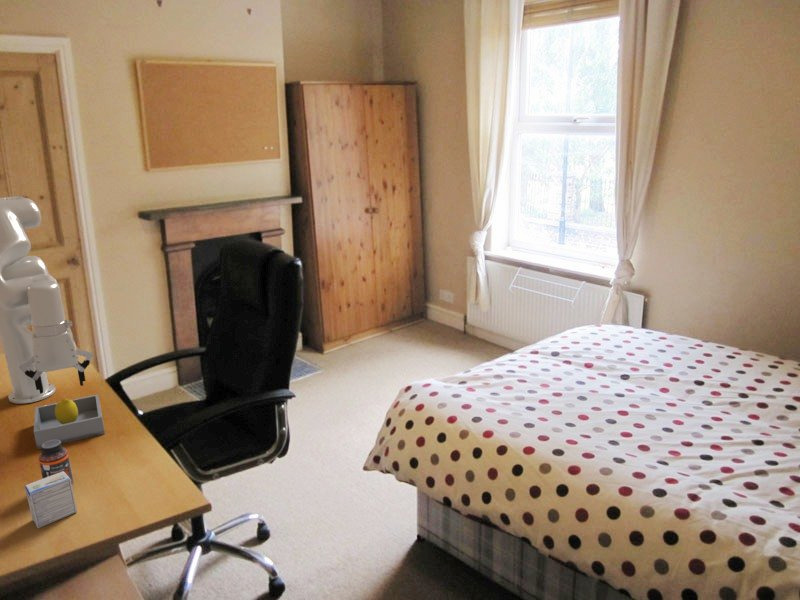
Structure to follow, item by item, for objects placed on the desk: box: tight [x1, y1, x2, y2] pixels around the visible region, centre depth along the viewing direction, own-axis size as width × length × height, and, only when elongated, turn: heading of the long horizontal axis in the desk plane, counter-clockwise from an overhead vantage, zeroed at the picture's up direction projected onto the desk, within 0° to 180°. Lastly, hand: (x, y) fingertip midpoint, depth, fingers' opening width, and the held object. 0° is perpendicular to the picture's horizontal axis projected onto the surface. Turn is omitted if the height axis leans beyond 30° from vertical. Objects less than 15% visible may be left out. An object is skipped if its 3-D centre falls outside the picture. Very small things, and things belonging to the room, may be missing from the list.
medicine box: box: [24, 471, 78, 529], centre depth 136 cm, size 8×4×9 cm, turn 133°
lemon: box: [55, 398, 78, 424], centre depth 173 cm, size 6×6×8 cm
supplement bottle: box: [38, 440, 74, 486], centre depth 146 cm, size 6×6×11 cm
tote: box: [33, 394, 106, 450], centre depth 174 cm, size 16×16×5 cm
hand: (61, 387), depth 171 cm, fingers open, 9 cm apart
